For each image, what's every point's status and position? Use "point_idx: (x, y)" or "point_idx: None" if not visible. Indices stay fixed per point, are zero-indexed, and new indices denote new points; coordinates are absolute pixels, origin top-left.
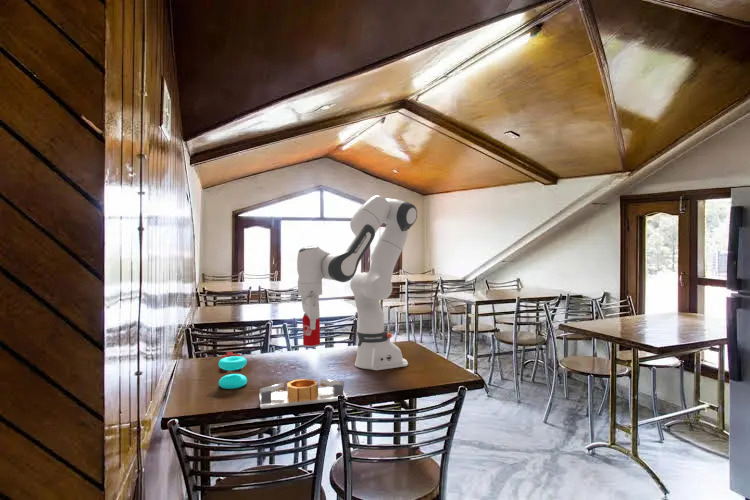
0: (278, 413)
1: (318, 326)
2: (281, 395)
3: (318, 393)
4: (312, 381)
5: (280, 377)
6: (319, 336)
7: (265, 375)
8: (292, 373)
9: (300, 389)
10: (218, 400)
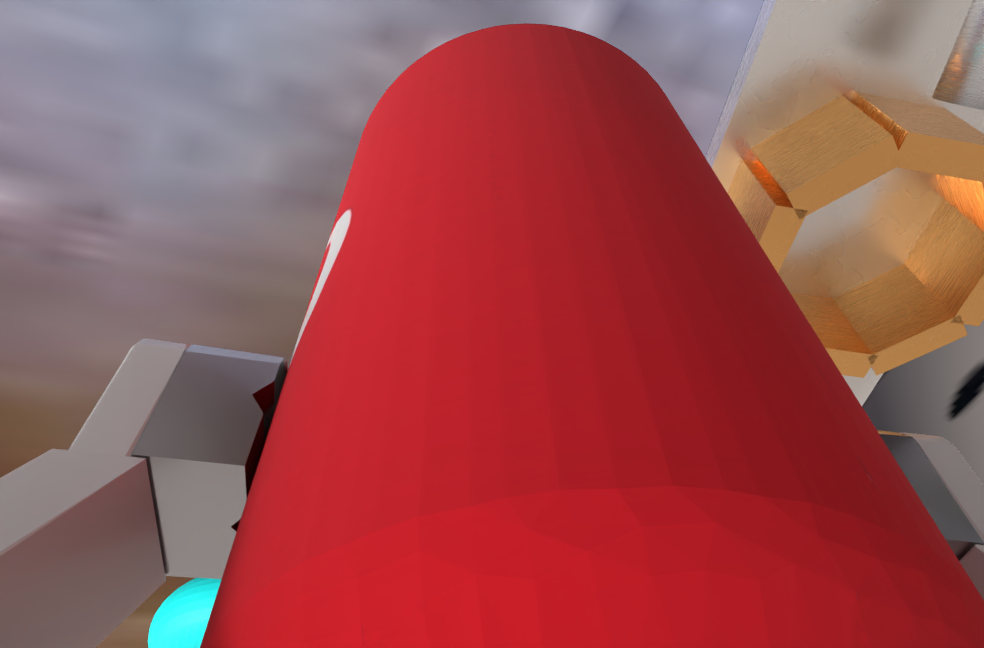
0: (962, 393)
1: (805, 321)
2: None
3: (897, 88)
4: (886, 170)
5: (178, 225)
6: (677, 128)
7: (85, 314)
8: (53, 92)
9: (981, 309)
10: None
